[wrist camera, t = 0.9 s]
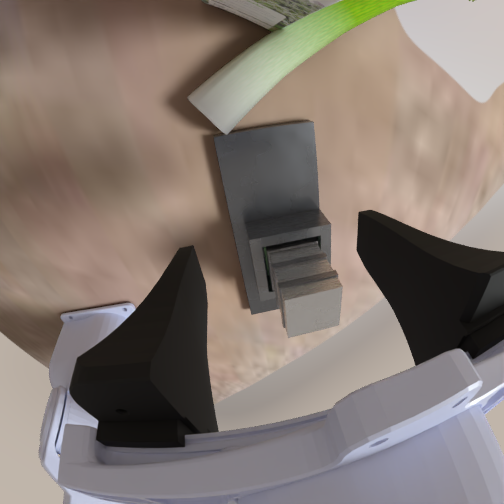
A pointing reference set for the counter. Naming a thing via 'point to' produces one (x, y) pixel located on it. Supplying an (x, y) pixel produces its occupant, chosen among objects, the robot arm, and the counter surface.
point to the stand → (271, 197)
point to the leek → (277, 59)
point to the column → (304, 286)
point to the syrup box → (271, 10)
